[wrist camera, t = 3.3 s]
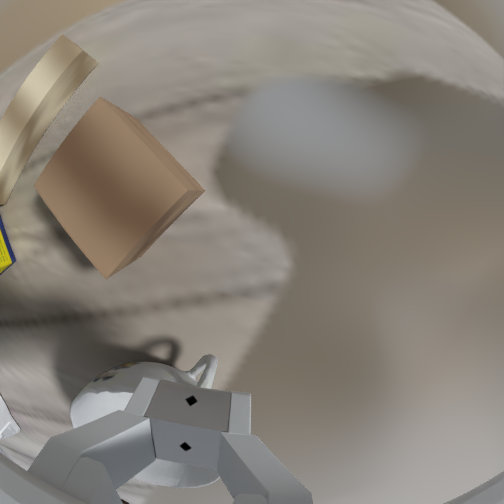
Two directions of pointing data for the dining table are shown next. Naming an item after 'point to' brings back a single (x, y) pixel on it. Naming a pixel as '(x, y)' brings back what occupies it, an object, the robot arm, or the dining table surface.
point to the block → (114, 187)
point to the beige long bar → (39, 107)
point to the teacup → (117, 397)
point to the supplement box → (5, 250)
